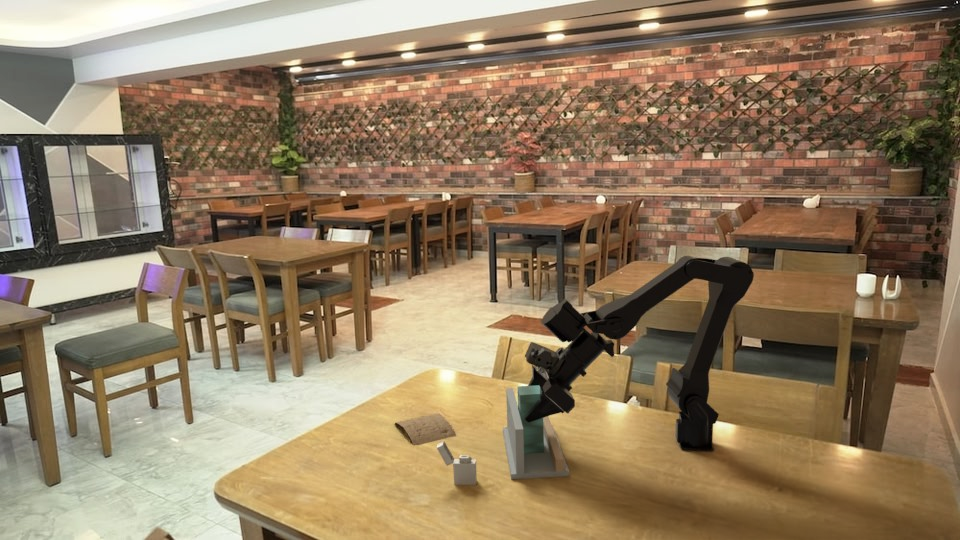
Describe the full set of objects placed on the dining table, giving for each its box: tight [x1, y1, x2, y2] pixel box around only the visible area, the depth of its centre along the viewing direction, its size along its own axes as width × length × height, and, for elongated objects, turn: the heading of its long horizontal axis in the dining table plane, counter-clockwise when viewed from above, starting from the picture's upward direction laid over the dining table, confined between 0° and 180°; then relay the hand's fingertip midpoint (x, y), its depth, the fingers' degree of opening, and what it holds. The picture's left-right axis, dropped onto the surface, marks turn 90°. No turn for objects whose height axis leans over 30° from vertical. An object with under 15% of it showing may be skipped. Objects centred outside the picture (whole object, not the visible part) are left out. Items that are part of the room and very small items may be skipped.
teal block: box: [517, 385, 544, 454], centre depth 123 cm, size 4×4×12 cm
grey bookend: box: [502, 387, 570, 480], centre depth 124 cm, size 11×20×10 cm, turn 2°
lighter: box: [436, 440, 478, 486], centre depth 114 cm, size 7×2×8 cm, turn 85°
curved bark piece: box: [396, 412, 457, 446], centre depth 137 cm, size 14×10×3 cm
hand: (523, 411), depth 123 cm, fingers open, 9 cm apart
